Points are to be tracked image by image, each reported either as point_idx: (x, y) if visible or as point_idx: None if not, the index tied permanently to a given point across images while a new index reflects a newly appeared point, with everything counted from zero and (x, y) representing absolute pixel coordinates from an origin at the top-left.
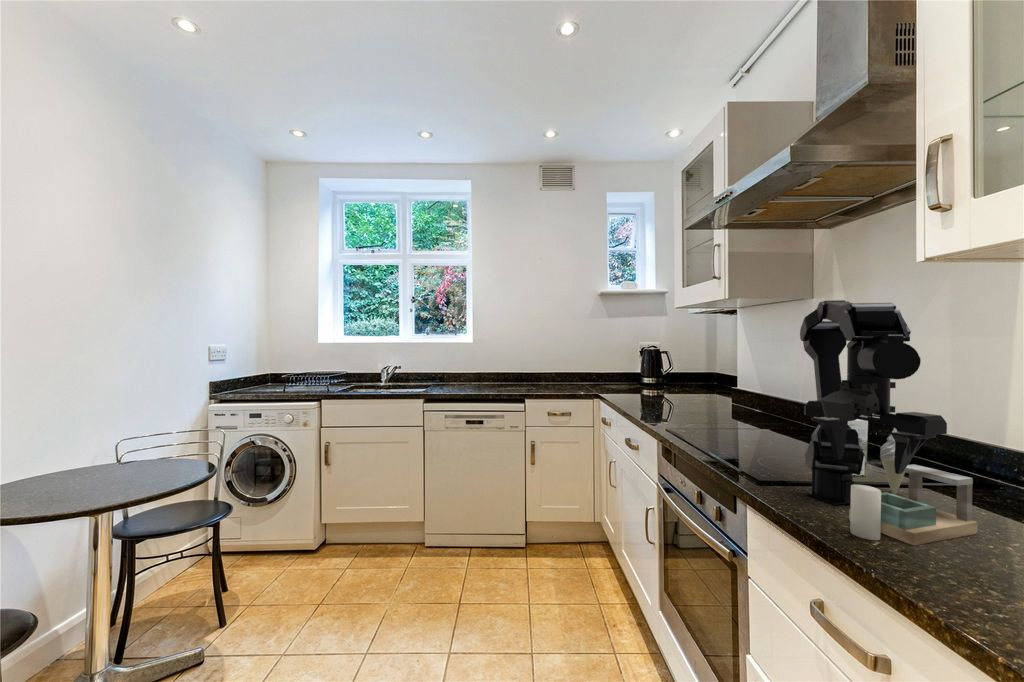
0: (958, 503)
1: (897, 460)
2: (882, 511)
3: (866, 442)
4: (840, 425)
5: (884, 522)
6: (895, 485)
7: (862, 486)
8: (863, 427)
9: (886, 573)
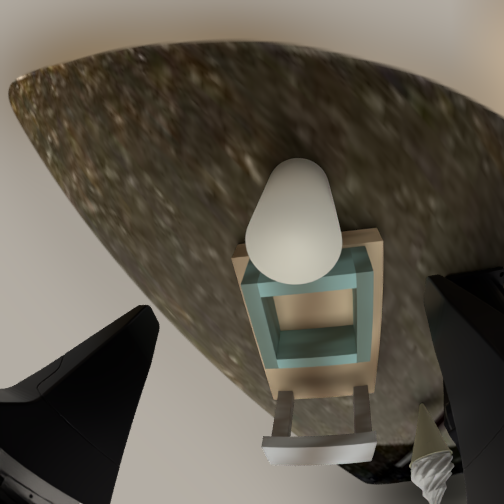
0: (287, 414)
1: (96, 337)
2: None
3: None
4: (495, 479)
5: None
6: (421, 418)
7: (316, 253)
8: None
9: (129, 75)
